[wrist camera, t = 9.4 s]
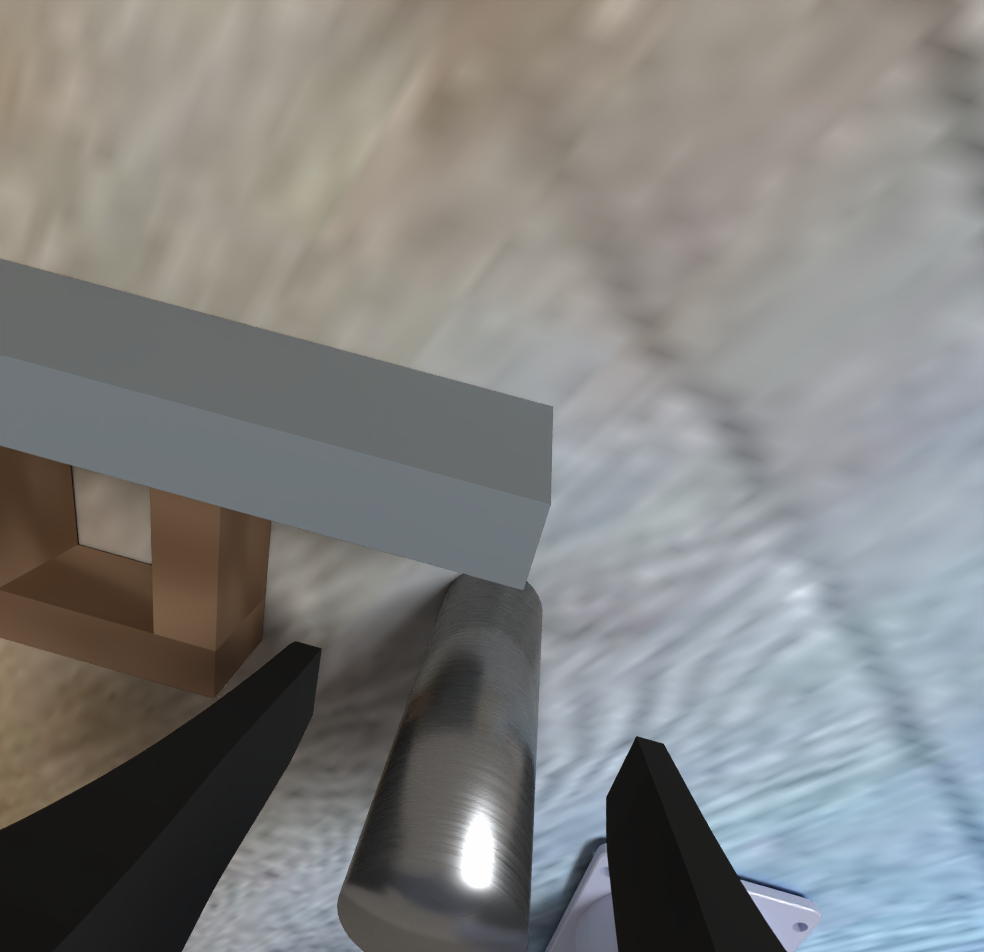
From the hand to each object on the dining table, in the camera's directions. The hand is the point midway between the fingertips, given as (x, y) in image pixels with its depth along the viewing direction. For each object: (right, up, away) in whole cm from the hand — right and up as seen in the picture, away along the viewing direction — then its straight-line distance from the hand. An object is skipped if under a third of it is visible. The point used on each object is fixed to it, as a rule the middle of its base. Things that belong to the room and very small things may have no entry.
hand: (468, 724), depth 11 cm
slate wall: (-8, +9, +2) cm, 12 cm away
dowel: (+1, +1, +4) cm, 4 cm away
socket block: (-10, +5, +4) cm, 12 cm away
